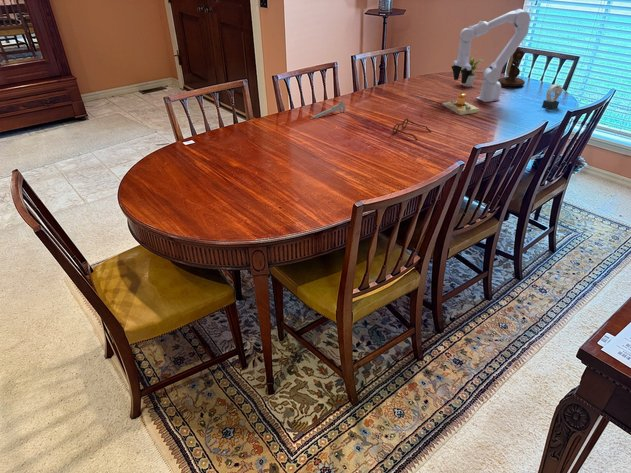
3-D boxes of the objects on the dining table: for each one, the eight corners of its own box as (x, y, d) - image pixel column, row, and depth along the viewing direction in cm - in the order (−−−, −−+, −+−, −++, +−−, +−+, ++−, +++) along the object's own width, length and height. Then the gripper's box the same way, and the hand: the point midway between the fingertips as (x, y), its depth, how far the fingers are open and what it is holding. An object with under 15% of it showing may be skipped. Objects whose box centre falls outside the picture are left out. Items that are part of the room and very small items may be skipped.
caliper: (344, 112, 225) (344, 99, 221) (345, 112, 224) (345, 100, 221) (309, 119, 217) (309, 107, 213) (310, 120, 216) (310, 107, 213)
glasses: (406, 127, 203) (406, 116, 201) (431, 132, 196) (432, 121, 194) (391, 135, 195) (392, 124, 192) (417, 141, 188) (418, 130, 185)
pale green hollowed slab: (459, 102, 230) (460, 97, 228) (478, 112, 215) (479, 107, 214) (442, 104, 228) (442, 99, 226) (460, 115, 213) (461, 109, 212)
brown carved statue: (494, 82, 261) (501, 46, 249) (520, 82, 259) (528, 46, 247) (499, 88, 248) (506, 51, 237) (526, 88, 246) (535, 51, 235)
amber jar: (461, 106, 224) (463, 92, 220) (466, 109, 220) (469, 94, 216) (453, 107, 223) (455, 93, 219) (458, 110, 219) (460, 95, 215)
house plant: (484, 88, 249) (490, 58, 240) (460, 89, 250) (464, 59, 241) (477, 82, 261) (482, 53, 252) (454, 83, 262) (458, 54, 253)
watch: (560, 107, 218) (566, 84, 211) (549, 110, 215) (555, 87, 208) (550, 104, 222) (556, 82, 216) (539, 107, 219) (545, 85, 213)
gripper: (449, 52, 227) (446, 79, 235) (464, 57, 215) (460, 85, 223) (461, 51, 228) (457, 77, 236) (476, 56, 217) (472, 84, 224)
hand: (459, 81), depth 230 cm, fingers open, 7 cm apart
